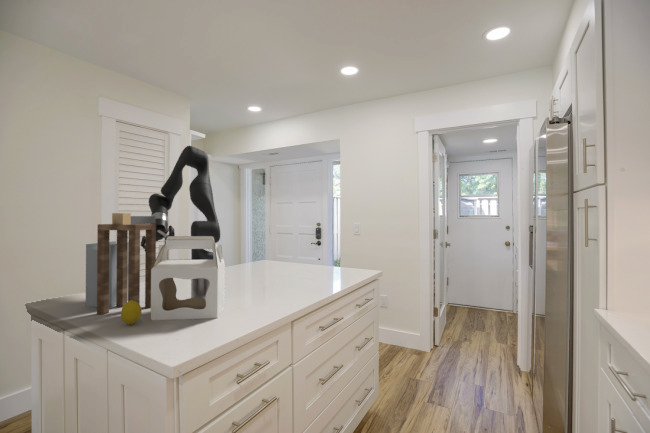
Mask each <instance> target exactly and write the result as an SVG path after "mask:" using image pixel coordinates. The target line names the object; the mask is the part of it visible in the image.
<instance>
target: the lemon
mask: <svg viewBox="0 0 650 433" xmlns="http://www.w3.org/2000/svg"><path fill="white" fill-rule="evenodd" d="M141 315H142V308H141V304H140V305H139V303H138V302H136V301H133V300H130V301H129V302H128V301H127V303H126V304H124V306H123V307H121V311H120V317H121V320H122V321H123V322H124V323H126V324H128V325H130V326H132V325H133V324H134V323H136V322H137V321H139V319H140V318H141Z"/></svg>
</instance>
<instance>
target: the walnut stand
mask: <svg viewBox="0 0 650 433" xmlns="http://www.w3.org/2000/svg"><path fill="white" fill-rule="evenodd" d="M110 231H116V243H117V282H116V305H115V306H116V308H122V307H123V306H124V304H126V303H127V302H129V301H130V300H133V301H136V302H138V303H139V305H140V306H141V304H140V302H141V301H140V287H141V285H140V282H141V281H140V279H141V278H140V277H141V231H145V237H146V252H145V260H144V262H145V267H144V268H145V272H144V273H145V274H144V278H145V279H144V280H145V282H144V286H145V287H144V289H145V290H144V292H145V293H144V308H147V309H149V308H150V309H151V268H152V266H153V264H154V262H155V260H156V258H157V255H156V254H157V252H156V251H157V247H156V246H157V241H156V224H125V225H113V224H112V223H103V224H102V223H100V224H97V233H96V234H97V237H96V238H97V240H96V241H97V242H96V243H97V307H96V315H97V314H98V315H99V316H103V315H106V314H109V313H110V307H109V242H110V233H111V232H110ZM128 242H129V252H128V301H127V245H128Z"/></svg>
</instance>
